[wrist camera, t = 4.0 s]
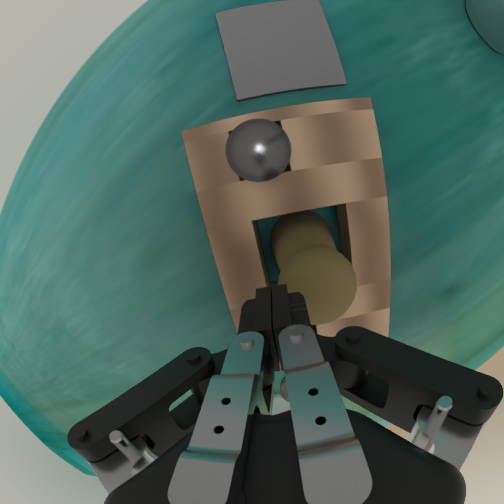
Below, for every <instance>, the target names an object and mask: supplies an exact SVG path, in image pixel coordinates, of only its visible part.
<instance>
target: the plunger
mask: <svg viewBox="0 0 504 504" xmlns="http://www.w3.org/2000/svg"><path fill="white" fill-rule="evenodd" d="M225 151H226V158H227V161H228V163H229V165H230V167H231V169H232V170H233V171H234V172H235V173H236V174H237V175H239V176H240V177H242V178H243V179H246V180H248V181H252V182H265V181H269V180H271V179H274V178H275V177H277V176H278V175H280V174H281V173H282V172H283V171H284V170H285V168H286V167H287V165H288V163H289V161H290V157H291V143H290V140H289V138H288V136H287V134H286V132H285V131H284V130H283V129H282V128H281V127H280V126H279V125H278V124H276V123H274V122H272V121H270V120H267V119H260V118H257V119H250V120H247V121H244V122H242V123H241V124H239V125H238V126H236V127H235V128H234V129H233V131H232V132H231V133H230V135H229V137H228V139H227V142H226V149H225Z"/></svg>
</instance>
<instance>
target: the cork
mask: <svg viewBox="0 0 504 504" xmlns="http://www.w3.org/2000/svg"><path fill="white" fill-rule="evenodd" d="M270 246H271V250H272V253H273V255H274V258H275V260H276V262H277V264H278V267H279V269H280V271H281V272H280V274H279V279H278V285H280V284H287V290H288V293H293V292H300V293H301V294H302V295H303V296H304V298H305V302H306V306H307V310H308V314H309V319H310V323H311V324H312V325H321V324H326V323H330V322H332V321H334V320H336V319H338V318H339V317H341V316H342V315H343V314H344V313H345V312H346V311H347V310H348V308H349V307H350V305H351V304H352V302H353V301H354V298H355V294H356V291H357V282H356V274H355V271H354V269H353V267H352V265H351V263H350V262H349V261H348V260H347V259H346V258H345V257H344V256H343V255H342V254H341V253H340V252H338V251H337V250H336V247H335V243H334V240H333V236H332V233H331V230H330V228H329V226H328V224H327V222H326V221H325V220H324V219H323V218H322V217H321V216H320V215H319V214H316V213H314V212H312V211H308V210H304V211H299V212H294V213H288V214H285V215H284V216H282V217H281V218H280V219H279V220H278V221H277V222H276V223H275V225H274V227H273V229H272V231H271V235H270Z"/></svg>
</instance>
